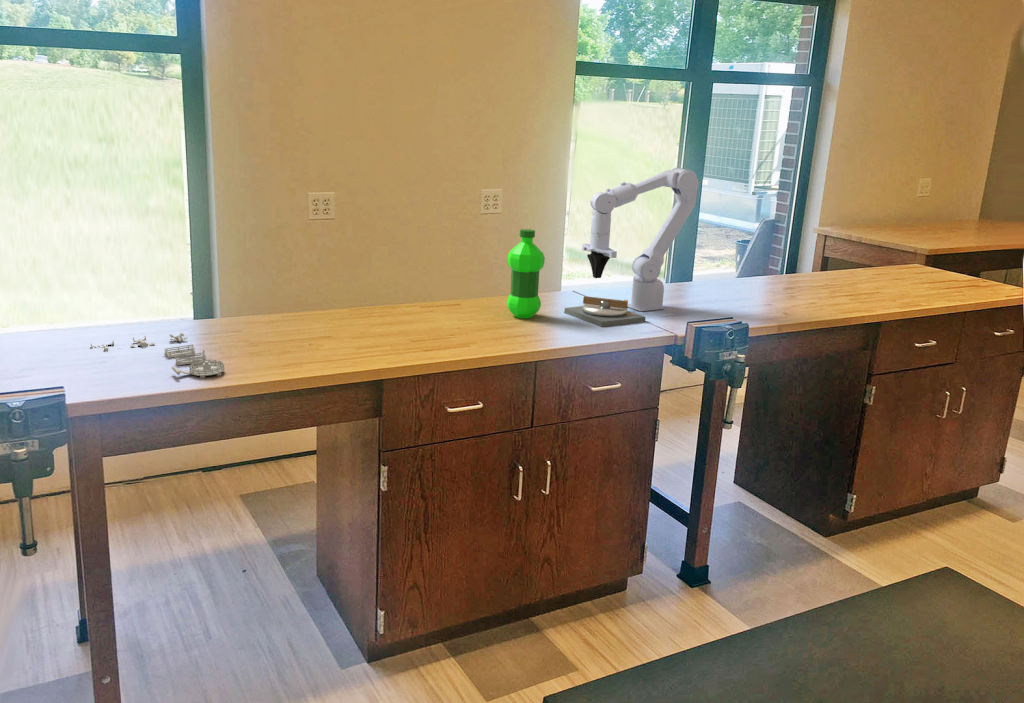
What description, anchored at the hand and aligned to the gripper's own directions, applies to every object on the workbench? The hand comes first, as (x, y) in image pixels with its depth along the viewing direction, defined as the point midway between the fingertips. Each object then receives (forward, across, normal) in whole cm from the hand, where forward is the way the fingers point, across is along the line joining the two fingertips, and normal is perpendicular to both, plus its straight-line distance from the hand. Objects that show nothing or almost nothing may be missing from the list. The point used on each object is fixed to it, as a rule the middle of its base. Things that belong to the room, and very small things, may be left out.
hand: (597, 277), depth 268 cm
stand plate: (+9, +11, -5) cm, 15 cm away
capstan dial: (+8, +11, -5) cm, 14 cm away
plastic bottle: (+10, +1, -27) cm, 29 cm away
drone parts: (+10, +5, -129) cm, 130 cm away
